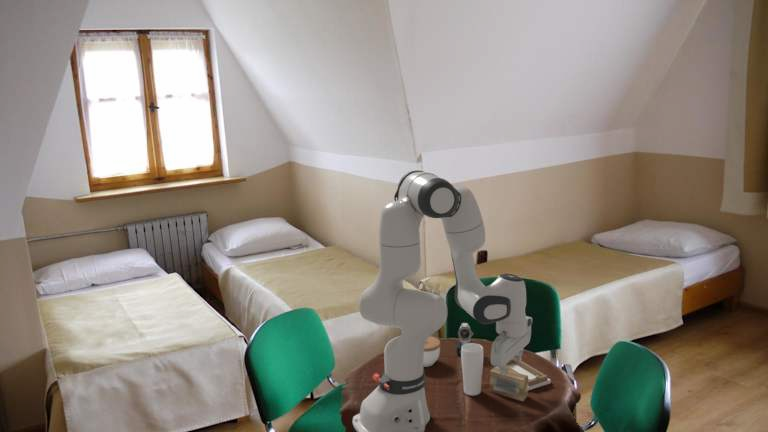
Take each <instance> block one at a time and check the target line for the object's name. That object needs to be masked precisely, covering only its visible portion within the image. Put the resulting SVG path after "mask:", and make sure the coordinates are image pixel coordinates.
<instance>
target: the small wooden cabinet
mask: <svg viewBox="0 0 768 432" xmlns="http://www.w3.org/2000/svg"><path fill="white" fill-rule="evenodd" d="M506 368H507V369H508V370H509V371H513V372H517V373H520V374H524V375H527V376H528V391H531V390H534V389H537V388H540V387H543V386H546V385H550V384H551V383H552V381H551V379H550V378H549V375H547V374H545V373H543V372H542V371H540V370H539V369H536V368H535V367H533V366H531V365H530V364H528V363H526V362H524V361H523V360H521V361H520V362H519V363H518V362H515V361H514V357H513V358H512V359H511V360H510V361H509V362H508V363H506Z"/></svg>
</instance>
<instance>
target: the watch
mask: <svg viewBox="0 0 768 432" xmlns="http://www.w3.org/2000/svg"><path fill="white" fill-rule="evenodd" d="M473 335H474V332H473V331H472V330H471V327H470V325H469V323H467V322H461V325H460V327H459V329H458V331H457V336H458V338H459V341H460V342H456V356H457V355H458V356H457V357H461V347H462V346H463V345H464V344H467V343H471V339H472V336H473Z"/></svg>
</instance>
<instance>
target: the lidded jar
mask: <svg viewBox="0 0 768 432" xmlns="http://www.w3.org/2000/svg"><path fill="white" fill-rule="evenodd" d="M440 353H441V341H440V340H439V338H437V337H434V336H432V335H431V336H430V337H429V338H428V340H427V341H426V344H425V347H424V357H423V368H424V367H425V368H428V367H432V366H434V364H435V363H436V362H437V361H438V359H439V357H440Z"/></svg>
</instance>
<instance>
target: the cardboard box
mask: <svg viewBox="0 0 768 432" xmlns="http://www.w3.org/2000/svg"><path fill="white" fill-rule="evenodd" d="M507 372H508V373H507V374H506V375H505V376H504V375H501V374H500V368H499V367H496V366H494V367H493V368H492V369H490V371H489V392H490V393H493V394H494V393H495V394H498V395H501V396H505V397H507V398H510V399H514V400H516V401H521V402H524V401H525V400H526V399H527V398H528V396H529V390H528V376H527V375H524V374H520V373H517V372H513V371H509V370H508V371H507Z"/></svg>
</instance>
